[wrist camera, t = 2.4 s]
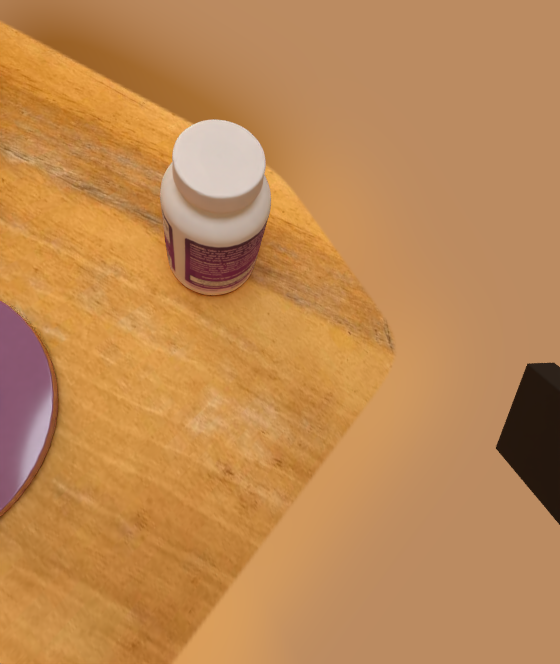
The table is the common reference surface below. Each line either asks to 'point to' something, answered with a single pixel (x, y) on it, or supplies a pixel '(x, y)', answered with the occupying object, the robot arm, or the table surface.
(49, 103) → the table surface
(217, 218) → the pill bottle
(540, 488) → the robot arm
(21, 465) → the saucer
